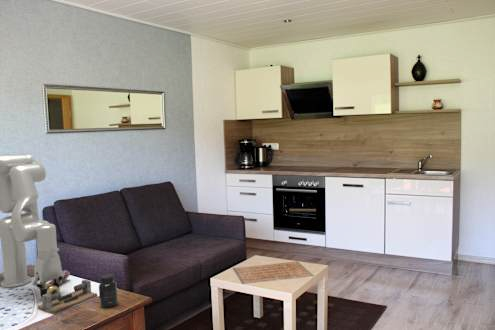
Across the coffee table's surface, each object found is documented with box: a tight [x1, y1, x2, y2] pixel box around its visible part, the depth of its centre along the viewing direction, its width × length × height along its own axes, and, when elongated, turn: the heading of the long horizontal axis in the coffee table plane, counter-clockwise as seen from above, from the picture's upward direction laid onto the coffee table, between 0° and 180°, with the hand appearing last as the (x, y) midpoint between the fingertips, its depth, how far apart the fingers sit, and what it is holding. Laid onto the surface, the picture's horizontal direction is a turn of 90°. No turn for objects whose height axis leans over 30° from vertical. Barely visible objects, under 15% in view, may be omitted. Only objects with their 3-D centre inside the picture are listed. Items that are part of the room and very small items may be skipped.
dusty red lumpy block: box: [48, 269, 71, 286], centre depth 202 cm, size 10×5×7 cm, turn 169°
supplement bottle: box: [98, 273, 119, 309], centre depth 175 cm, size 7×7×12 cm
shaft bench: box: [37, 279, 98, 316], centre depth 179 cm, size 11×20×6 cm, turn 148°
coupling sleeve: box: [45, 283, 61, 295], centre depth 185 cm, size 6×5×5 cm
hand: (50, 294), depth 185 cm, fingers closed on coupling sleeve, 5 cm apart
